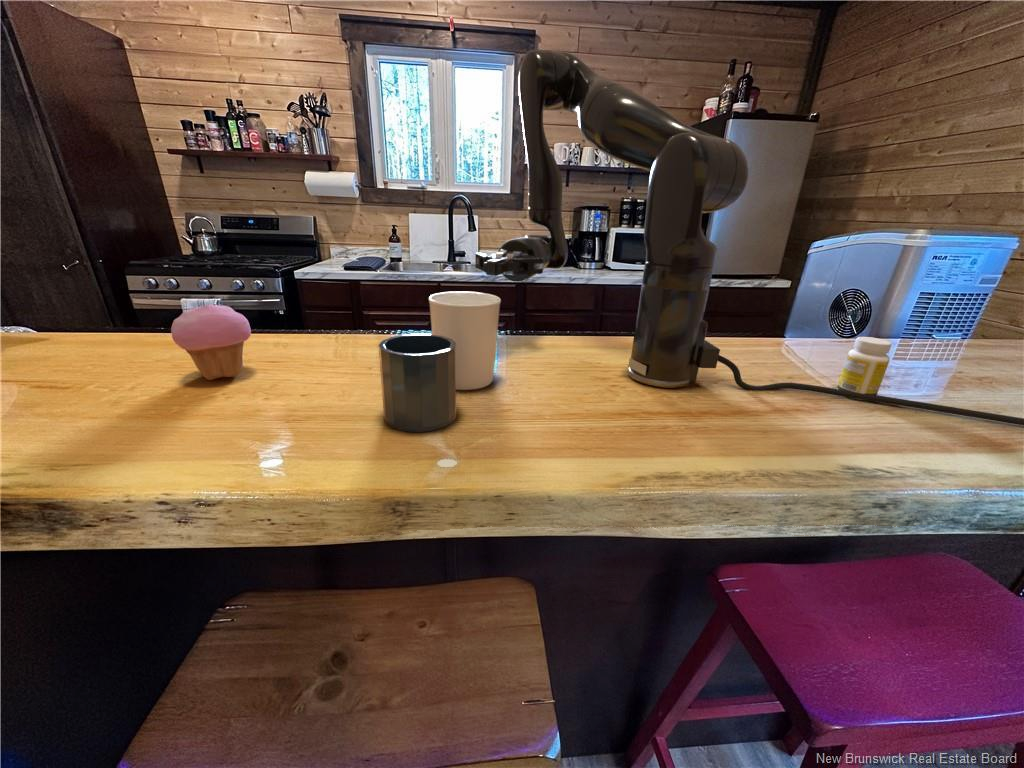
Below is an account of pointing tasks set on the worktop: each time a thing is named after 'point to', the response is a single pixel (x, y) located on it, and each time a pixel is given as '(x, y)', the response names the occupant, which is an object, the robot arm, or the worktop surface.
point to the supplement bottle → (865, 366)
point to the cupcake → (213, 339)
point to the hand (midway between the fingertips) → (490, 268)
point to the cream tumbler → (468, 333)
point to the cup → (418, 381)
